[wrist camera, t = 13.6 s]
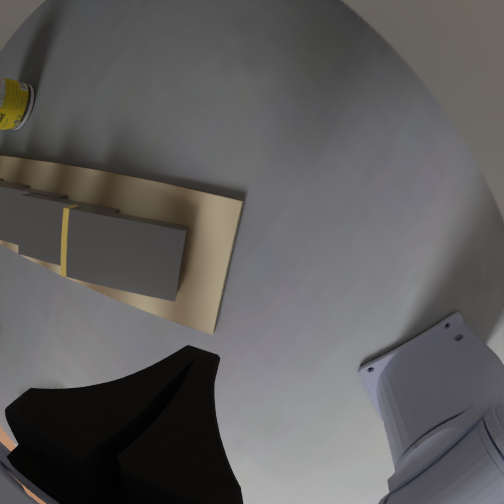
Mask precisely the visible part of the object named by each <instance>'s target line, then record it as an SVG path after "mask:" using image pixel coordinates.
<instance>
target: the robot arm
mask: <svg viewBox="0 0 504 504" xmlns="http://www.w3.org/2000/svg"><path fill="white" fill-rule="evenodd" d="M447 323H448V325H447V326H446V327H445V325H446V324H447ZM219 361H220V357H219V356H218V355H217V354H214V353H211V352H208V351H205V350H202V349H199V348H196V347H193V346H190V345H187V346H185V347H183V348H182V349H180V350H178V351H177V352H175V353H173V354H172V355H170V356H168V357H167V358H165V359H163V360H161V361H159V362H157V363H155V364H153V365H152V366H150V367H147V368H145V369H143V370H141V371H138V372H136V373H134V374H131V375H129V376H126V377H123V378H120V379H117V380H114V381H110V382H106V383H101V384H97V385H92V386H86V387H78V388H67V389H39V388H30V389H29V390H27V391H26V392H25V393H23V394H22V395H21V396H20V397H18V398H17V399H16V400H15V401H14V402H12V403H11V404H10V405H9V406H8V407H7V408H6V409H5V415H6V419H7V422H8V424H9V426H10V428H11V430H12V432H13V434H14V436H15V438H16V440H17V442H18V444H19V445H18V446H17V447H16V448H15V449H14V450H13V451H12V452H11V451H10V450H8V449H7V448H6V447H5V446H4V445H3V444H2V443H1V442H0V504H39V503H38V502H37V501H36V500H34V499H33V498H32V497H30V496H29V495H28V494H27V493H26V492H25V490H24V488H23V487H22V485H24V486H25V487H26V488H27V489H28V490H30V491H31V492H32V493H34V494H35V495H36V496H37V497H39V498H40V499H41V500H43V501H44V502H46V503H47V504H243V499H242V493H241V487H240V485H239V483H238V481H237V479H236V477H235V475H234V473H233V471H232V469H231V466H230V464H229V461H228V459H227V456H226V453H225V450H224V447H223V444H222V440H221V437H220V433H219V428H218V423H217V418H216V410H215V398H214V383H215V378H216V374H217V370H218V366H219ZM370 367H373V368H372V369H370V370H368V368H370ZM358 373H359V376H360V378H361V380H362V382H363V384H364V385H365V387H366V389H367V391H368V393H369V395H370V397H371V399H372V401H373V403H374V405H375V407H376V409H377V411H378V413H379V415H380V417H381V419H382V421H383V423H384V427H385V431H386V434H387V438H388V442H389V446H390V450H391V455H392V459H393V463H394V467H395V473H394V474H393V475H392V476H391V477H390V478H389V479H388V480H387V481H388V487H389V494H387V495H386V496H384V497H383V498H382V499H381V500H380V502H379V503H378V504H504V365H503V363H502V361H501V360H500V359H499V357H498V356H497V355H496V354H495V353H494V352H493V351H492V350H491V349H490V348H489V347H488V346H487V345H486V344H485V343H484V342H483V341H482V340H481V339H480V338H479V337H478V336H477V335H476V334H475V333H474V332H473V331H472V330H471V329H470V328H469V327H468V326H467V325H466V324H465V323H464V322H463V318H462V315H461V314H460V313H459V312H455V313H454V314H452V315H451V316H449V317H448V318H446V319H444V320H443V321H441V322H440V323H438V324H437V325H435V326H433V327H432V328H430V329H429V330H427V331H425V332H424V333H422V334H420V335H419V336H417V337H415V338H413V339H412V340H410V341H408V342H407V343H405V344H403V345H401V346H399V347H398V348H396V349H394V350H392V351H390V352H388V353H386V354H385V355H383V356H381V357H379V358H377V359H375V360H373V361H371V362H369V363H367V364H365V365H363V366H361V367H360V368H359V370H358ZM15 478H16V479H17V480H18V481H19V482H20V483H21V484H22V485H21V484H20V483H19V482H18V481H17V480H16V479H15Z"/></svg>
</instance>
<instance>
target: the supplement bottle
mask: <svg viewBox="0 0 504 504" xmlns="http://www.w3.org/2000/svg"><path fill="white" fill-rule="evenodd" d="M33 102H34V90H33V87H32V86H31V85H30V84H28V83H24V82H20V81H15V80H11V79H6V78H1V77H0V129H4V130H17V129H19V128H20V127H22V126H23V124H24V123H25V122H26V121H27V119H28V117H29V115H30V113H31V110H32V107H33Z"/></svg>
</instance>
